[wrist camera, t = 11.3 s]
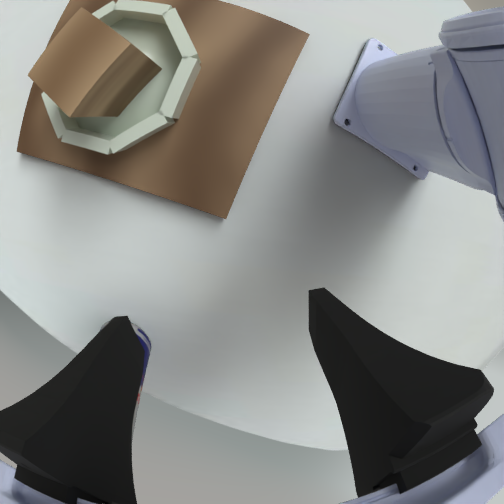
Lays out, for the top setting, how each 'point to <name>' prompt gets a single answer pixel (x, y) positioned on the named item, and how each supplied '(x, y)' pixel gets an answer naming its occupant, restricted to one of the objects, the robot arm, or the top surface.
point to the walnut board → (191, 109)
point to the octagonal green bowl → (153, 94)
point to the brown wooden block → (92, 69)
